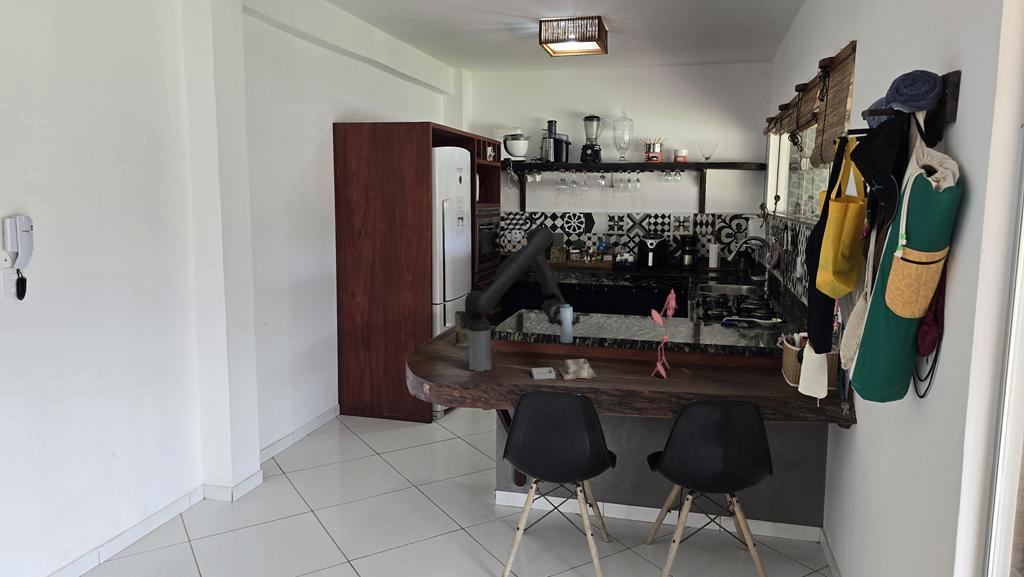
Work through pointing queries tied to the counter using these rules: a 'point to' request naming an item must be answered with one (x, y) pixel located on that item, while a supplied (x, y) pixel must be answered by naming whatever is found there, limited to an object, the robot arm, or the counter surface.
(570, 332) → the light blue bottle
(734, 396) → the counter surface
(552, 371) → the white square tray
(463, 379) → the counter surface
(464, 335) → the coffee box
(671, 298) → the pink branching plant
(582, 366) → the port
